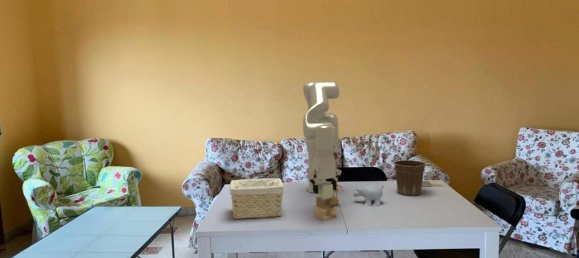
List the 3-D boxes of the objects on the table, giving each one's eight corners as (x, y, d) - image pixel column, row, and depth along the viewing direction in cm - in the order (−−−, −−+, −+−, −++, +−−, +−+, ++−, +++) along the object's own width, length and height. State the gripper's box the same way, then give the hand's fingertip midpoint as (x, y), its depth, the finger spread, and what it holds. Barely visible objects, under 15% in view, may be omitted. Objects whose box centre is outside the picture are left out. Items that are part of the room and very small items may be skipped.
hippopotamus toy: (353, 198, 198) (353, 180, 197) (383, 199, 196) (383, 181, 194) (353, 205, 188) (353, 186, 187) (385, 206, 185) (385, 187, 184)
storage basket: (281, 206, 189) (280, 176, 187) (285, 217, 173) (284, 185, 171) (231, 209, 186) (230, 179, 185) (230, 221, 170) (229, 188, 169)
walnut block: (327, 203, 176) (327, 194, 176) (335, 207, 171) (334, 198, 170) (316, 205, 174) (316, 196, 173) (323, 209, 168) (323, 200, 168)
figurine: (342, 203, 192) (342, 179, 190) (344, 206, 186) (344, 182, 184) (326, 203, 192) (325, 179, 190) (327, 207, 186) (326, 182, 184)
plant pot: (412, 187, 216) (413, 158, 215) (432, 195, 201) (432, 164, 199) (387, 190, 211) (387, 161, 209) (405, 198, 196) (405, 167, 194)
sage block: (326, 195, 175) (326, 182, 175) (332, 197, 171) (332, 184, 170) (317, 196, 173) (317, 183, 172) (323, 199, 169) (323, 186, 168)
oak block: (327, 213, 178) (327, 202, 177) (336, 217, 172) (336, 206, 171) (314, 216, 174) (314, 205, 174) (323, 220, 168) (323, 209, 168)
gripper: (335, 149, 177) (336, 186, 179) (302, 154, 169) (303, 192, 171) (345, 152, 170) (346, 190, 172) (312, 156, 162) (312, 196, 164)
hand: (324, 191), depth 172 cm, fingers open, 9 cm apart
